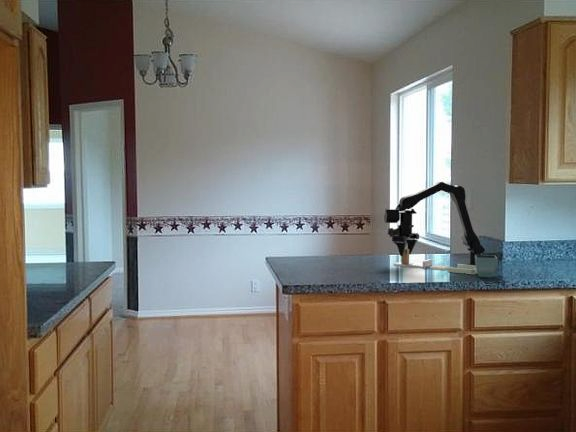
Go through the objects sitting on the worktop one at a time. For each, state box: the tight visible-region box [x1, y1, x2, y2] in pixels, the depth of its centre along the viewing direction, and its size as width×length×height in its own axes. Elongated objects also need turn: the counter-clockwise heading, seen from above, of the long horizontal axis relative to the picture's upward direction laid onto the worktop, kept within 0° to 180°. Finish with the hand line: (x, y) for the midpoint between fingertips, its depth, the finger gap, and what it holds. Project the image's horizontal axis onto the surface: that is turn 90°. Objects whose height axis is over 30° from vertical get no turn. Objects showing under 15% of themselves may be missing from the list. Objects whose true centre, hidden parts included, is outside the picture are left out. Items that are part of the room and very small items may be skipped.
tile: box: [429, 264, 450, 271], centre depth 295 cm, size 7×7×2 cm
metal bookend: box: [393, 248, 433, 269], centre depth 303 cm, size 16×8×8 cm, turn 55°
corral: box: [447, 263, 478, 275], centre depth 288 cm, size 13×12×2 cm
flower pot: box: [475, 254, 499, 279], centre depth 273 cm, size 9×9×9 cm
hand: (405, 255), depth 305 cm, fingers open, 9 cm apart
